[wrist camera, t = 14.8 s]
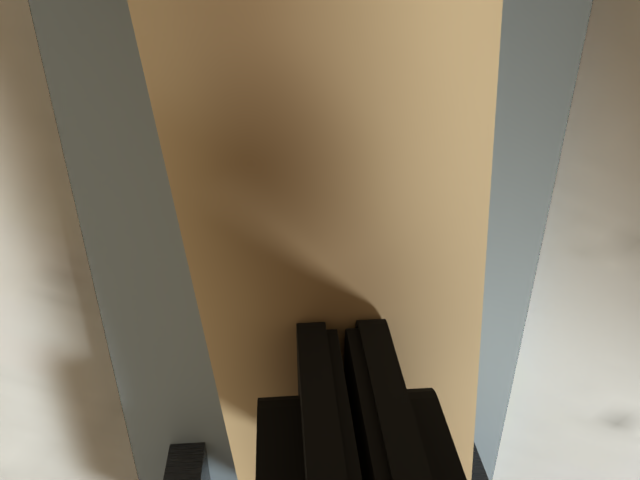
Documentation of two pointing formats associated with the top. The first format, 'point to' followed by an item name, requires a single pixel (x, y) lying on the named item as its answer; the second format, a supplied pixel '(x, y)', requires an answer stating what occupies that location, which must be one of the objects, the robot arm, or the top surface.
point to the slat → (329, 183)
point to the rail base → (167, 245)
